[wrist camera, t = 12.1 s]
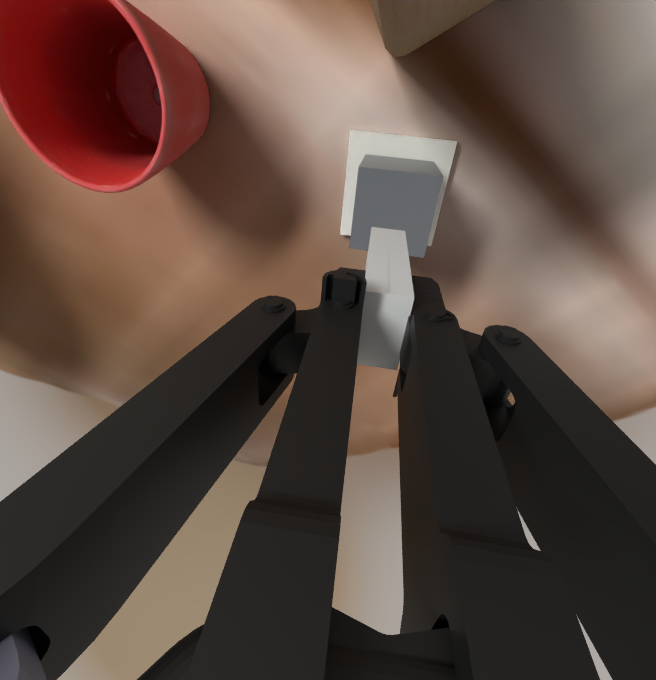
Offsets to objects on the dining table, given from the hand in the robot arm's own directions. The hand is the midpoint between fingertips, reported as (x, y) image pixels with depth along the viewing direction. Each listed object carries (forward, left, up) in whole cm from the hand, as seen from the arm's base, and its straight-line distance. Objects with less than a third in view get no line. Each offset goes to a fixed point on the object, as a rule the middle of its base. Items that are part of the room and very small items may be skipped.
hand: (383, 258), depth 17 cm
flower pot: (-19, +5, -16) cm, 25 cm away
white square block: (0, 0, -16) cm, 16 cm away
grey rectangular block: (0, 0, -15) cm, 15 cm away
